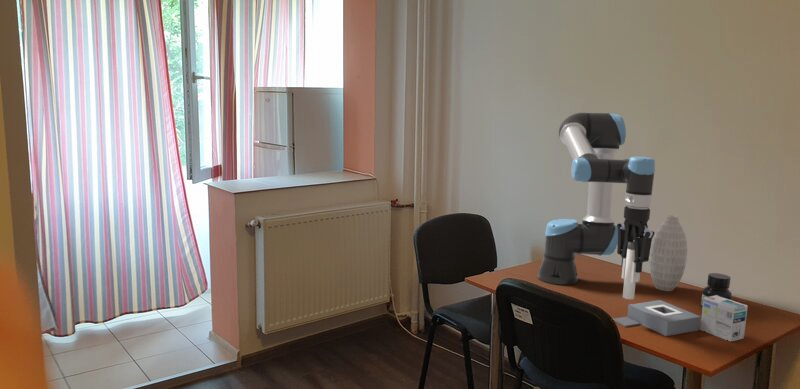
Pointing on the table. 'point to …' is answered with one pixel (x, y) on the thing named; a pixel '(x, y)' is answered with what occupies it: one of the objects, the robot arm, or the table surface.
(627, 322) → the pad
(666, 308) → the panel
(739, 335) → the light bulb box
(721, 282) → the ink bottle
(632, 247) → the stylus
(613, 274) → the table surface
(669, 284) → the vase
